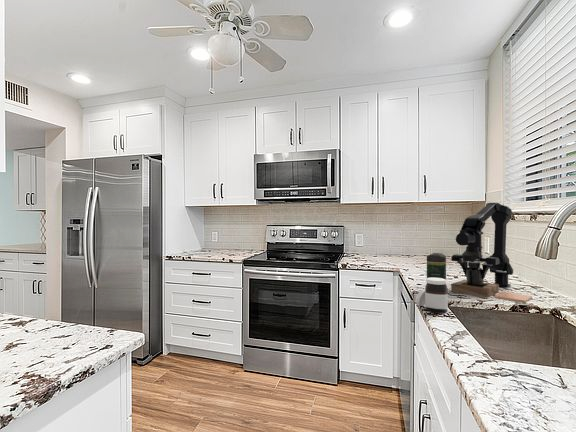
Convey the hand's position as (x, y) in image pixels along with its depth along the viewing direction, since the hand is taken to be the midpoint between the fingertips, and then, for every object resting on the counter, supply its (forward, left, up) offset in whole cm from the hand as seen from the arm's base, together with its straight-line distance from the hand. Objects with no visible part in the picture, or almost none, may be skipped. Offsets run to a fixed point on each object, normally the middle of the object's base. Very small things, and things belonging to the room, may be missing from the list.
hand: (474, 277), depth 148 cm
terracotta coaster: (0, +15, -6) cm, 16 cm away
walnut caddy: (0, 0, -6) cm, 6 cm away
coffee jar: (+17, -10, -7) cm, 21 cm away
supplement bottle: (0, 0, -5) cm, 5 cm away
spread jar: (+41, -1, -7) cm, 42 cm away
